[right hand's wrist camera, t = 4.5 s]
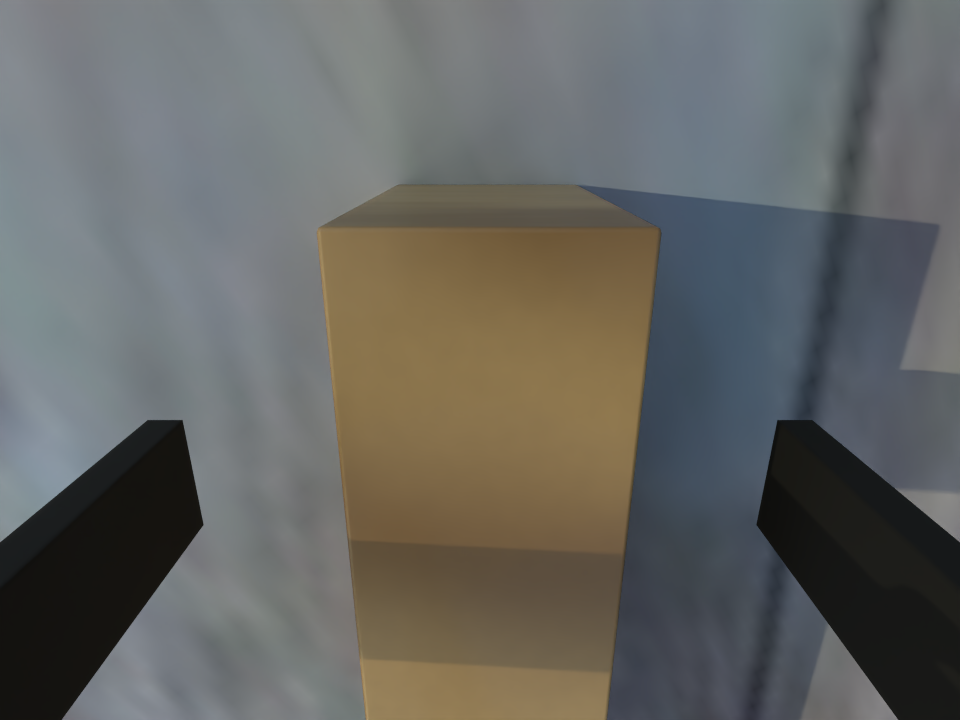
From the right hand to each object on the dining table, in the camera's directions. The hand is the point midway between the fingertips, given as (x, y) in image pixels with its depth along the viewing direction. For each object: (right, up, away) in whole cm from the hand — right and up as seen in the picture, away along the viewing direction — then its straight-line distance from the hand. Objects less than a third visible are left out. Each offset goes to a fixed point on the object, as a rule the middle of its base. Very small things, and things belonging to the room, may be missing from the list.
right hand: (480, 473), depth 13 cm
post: (0, -21, +13) cm, 25 cm away
